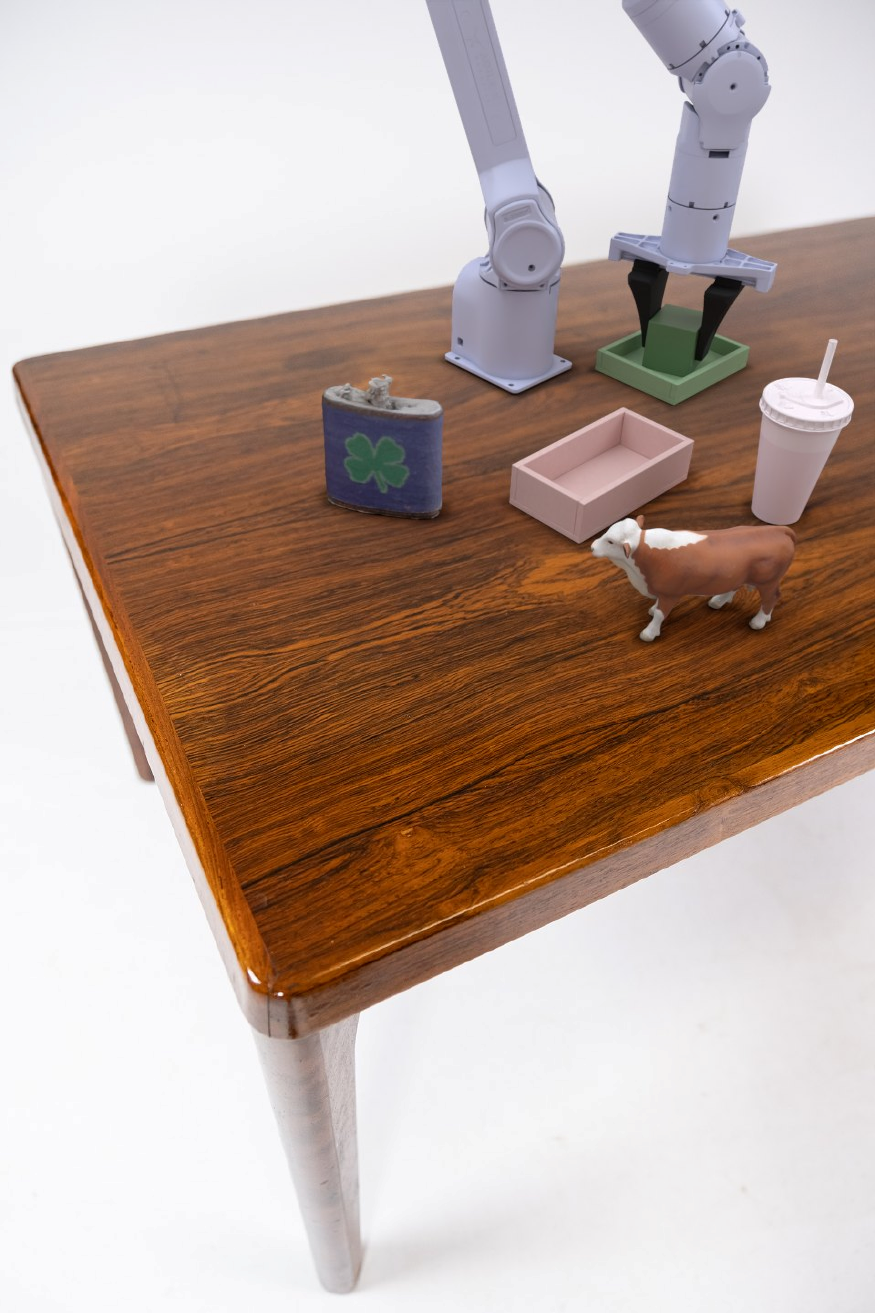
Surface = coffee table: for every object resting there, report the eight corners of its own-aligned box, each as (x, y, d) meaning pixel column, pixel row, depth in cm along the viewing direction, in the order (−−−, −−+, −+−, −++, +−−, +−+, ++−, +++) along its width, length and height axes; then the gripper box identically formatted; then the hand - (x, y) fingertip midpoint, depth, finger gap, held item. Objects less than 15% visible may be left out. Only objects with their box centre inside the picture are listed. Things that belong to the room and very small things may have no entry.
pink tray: (508, 503, 79) (511, 464, 76) (617, 443, 85) (623, 406, 83) (579, 544, 75) (584, 504, 73) (686, 478, 82) (695, 440, 79)
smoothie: (821, 540, 76) (879, 366, 66) (733, 529, 77) (778, 356, 67) (815, 493, 80) (868, 324, 71) (733, 483, 81) (774, 315, 72)
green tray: (594, 369, 95) (597, 349, 94) (667, 334, 101) (671, 315, 100) (673, 405, 90) (677, 385, 89) (745, 366, 96) (750, 346, 95)
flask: (445, 504, 78) (447, 377, 71) (435, 525, 76) (436, 396, 69) (333, 485, 80) (324, 359, 73) (320, 505, 78) (309, 377, 71)
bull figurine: (577, 604, 70) (591, 505, 64) (767, 595, 71) (796, 497, 65) (590, 646, 67) (605, 546, 61) (788, 637, 68) (821, 537, 62)
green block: (641, 367, 95) (648, 320, 92) (657, 348, 98) (665, 302, 95) (687, 378, 93) (696, 332, 90) (702, 359, 96) (712, 313, 93)
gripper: (603, 196, 85) (585, 348, 94) (774, 229, 80) (737, 386, 89) (633, 173, 90) (614, 320, 99) (797, 202, 85) (760, 354, 94)
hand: (674, 349), depth 94 cm, fingers closed on green block, 4 cm apart
